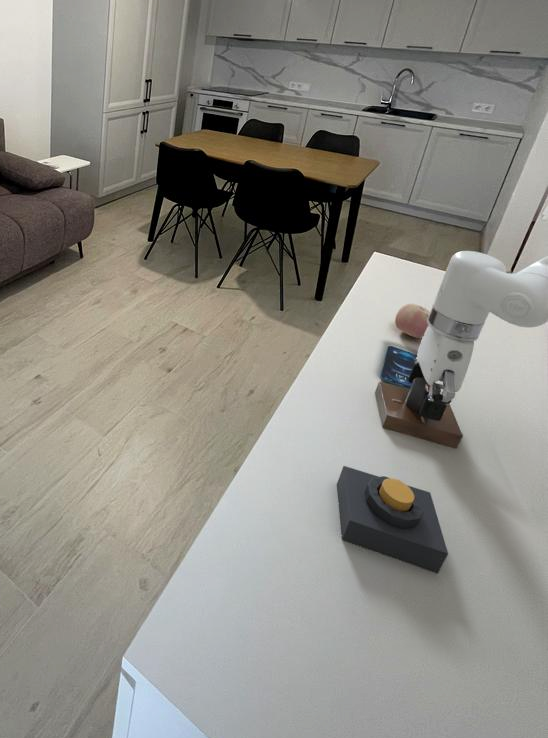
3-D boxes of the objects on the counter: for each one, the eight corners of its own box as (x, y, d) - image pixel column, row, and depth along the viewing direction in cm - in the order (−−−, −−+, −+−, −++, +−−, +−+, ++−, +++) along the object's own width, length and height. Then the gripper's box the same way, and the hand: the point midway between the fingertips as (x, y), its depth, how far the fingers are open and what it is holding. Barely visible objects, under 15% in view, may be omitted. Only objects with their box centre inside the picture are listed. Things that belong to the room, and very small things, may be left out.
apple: (426, 349, 115) (438, 320, 112) (390, 337, 119) (400, 308, 115) (426, 333, 121) (437, 305, 118) (391, 322, 125) (401, 294, 122)
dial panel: (442, 410, 96) (447, 398, 95) (457, 448, 88) (463, 435, 86) (374, 392, 100) (379, 380, 99) (382, 427, 91) (387, 414, 90)
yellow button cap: (407, 492, 72) (411, 483, 71) (413, 515, 68) (417, 507, 68) (377, 482, 73) (380, 474, 72) (381, 505, 69) (384, 496, 69)
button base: (421, 511, 75) (434, 483, 73) (437, 574, 67) (453, 544, 64) (336, 484, 79) (346, 456, 77) (341, 540, 70) (353, 511, 68)
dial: (403, 395, 95) (411, 373, 93) (428, 402, 94) (438, 380, 92) (407, 410, 91) (416, 388, 89) (434, 418, 90) (444, 395, 88)
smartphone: (426, 357, 111) (422, 393, 99) (425, 359, 111) (421, 396, 100) (388, 344, 115) (379, 377, 103) (387, 346, 115) (379, 379, 103)
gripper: (498, 356, 76) (459, 439, 83) (464, 302, 91) (434, 377, 98) (443, 343, 78) (409, 426, 85) (419, 293, 94) (392, 367, 100)
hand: (422, 399), depth 92 cm, fingers open, 9 cm apart
